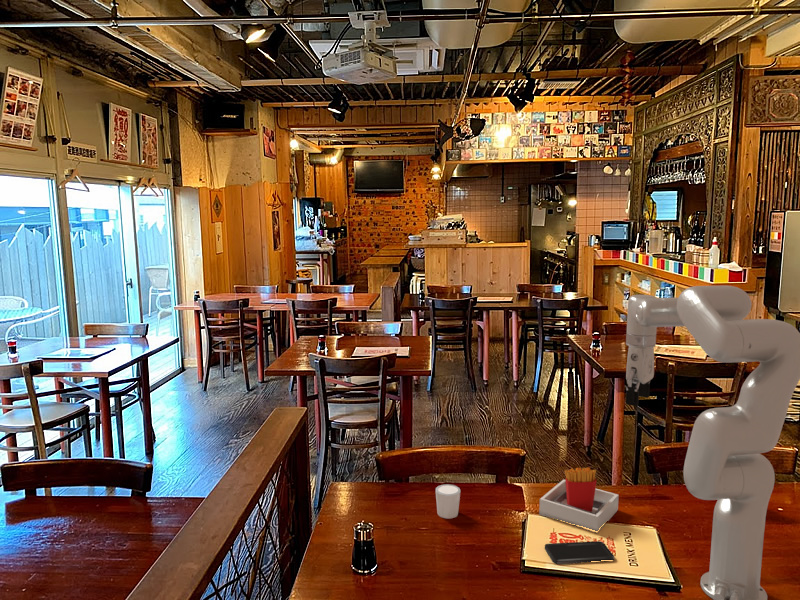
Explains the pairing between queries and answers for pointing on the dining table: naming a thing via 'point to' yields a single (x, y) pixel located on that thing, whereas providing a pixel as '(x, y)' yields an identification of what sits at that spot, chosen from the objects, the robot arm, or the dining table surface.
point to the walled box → (557, 508)
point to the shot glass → (447, 500)
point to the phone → (578, 552)
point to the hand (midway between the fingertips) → (637, 400)
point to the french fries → (581, 488)
